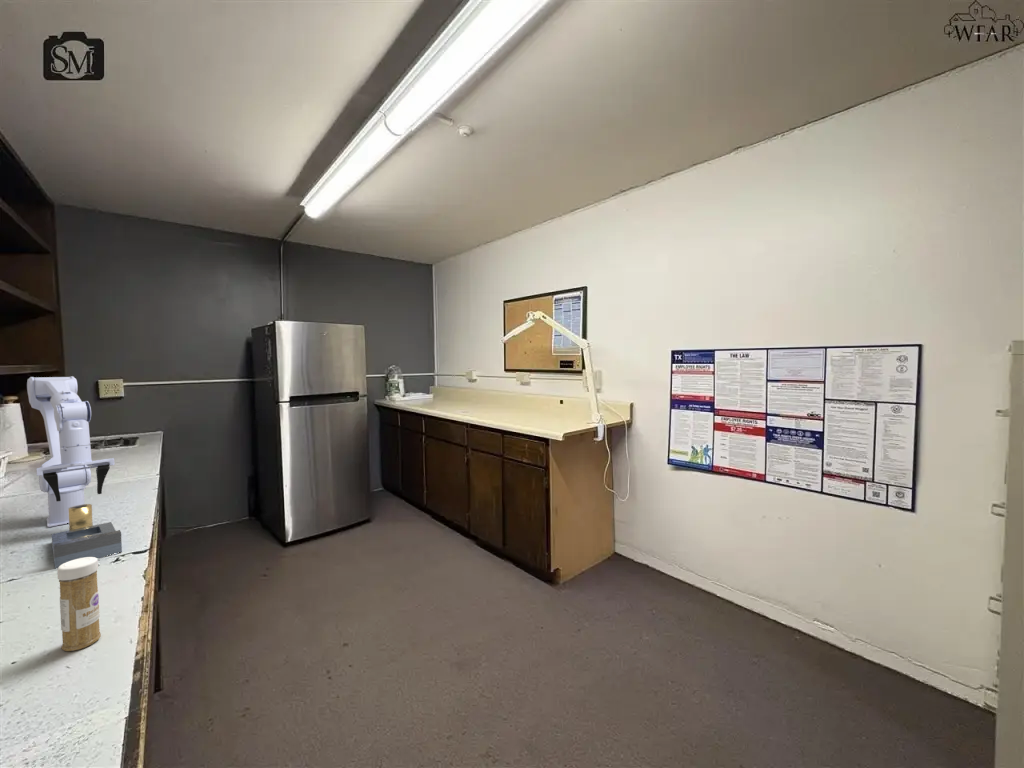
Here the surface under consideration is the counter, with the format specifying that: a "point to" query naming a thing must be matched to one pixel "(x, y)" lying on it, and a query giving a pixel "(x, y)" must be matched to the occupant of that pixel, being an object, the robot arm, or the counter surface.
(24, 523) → the counter surface
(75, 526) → the bushing
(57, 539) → the plate
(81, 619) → the sprinkles bottle
